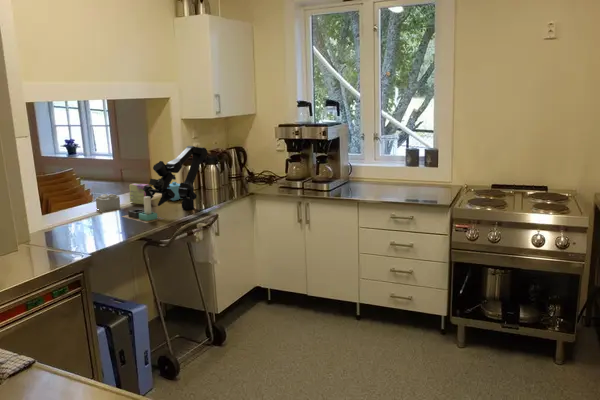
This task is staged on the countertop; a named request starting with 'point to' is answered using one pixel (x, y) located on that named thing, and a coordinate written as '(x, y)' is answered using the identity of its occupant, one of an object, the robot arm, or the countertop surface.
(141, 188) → the box
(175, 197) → the teapot
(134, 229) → the countertop surface
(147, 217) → the port
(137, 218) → the panel board
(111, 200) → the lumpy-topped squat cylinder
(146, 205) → the plug
